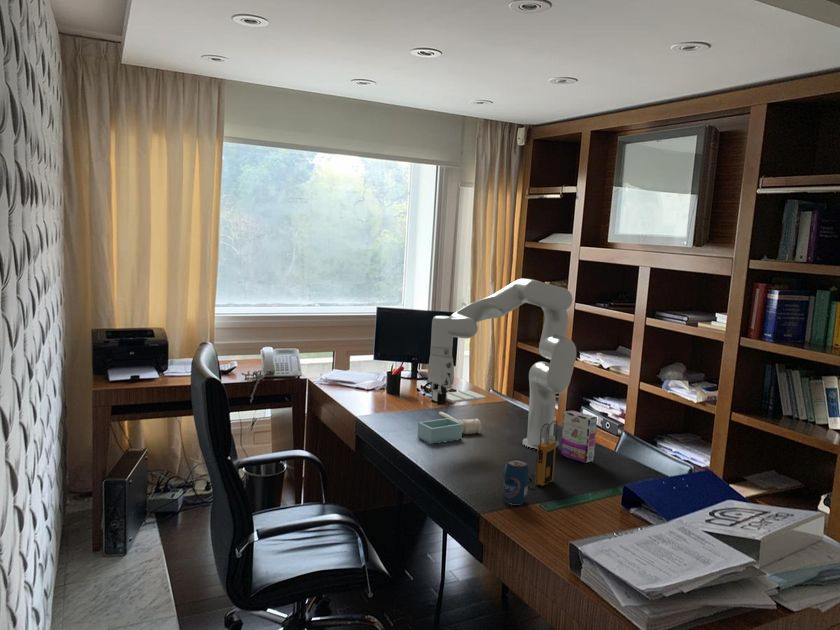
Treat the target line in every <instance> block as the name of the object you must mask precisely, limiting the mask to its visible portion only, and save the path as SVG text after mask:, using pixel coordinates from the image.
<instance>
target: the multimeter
mask: <svg viewBox="0 0 840 630" xmlns="http://www.w3.org/2000/svg"><path fill="white" fill-rule="evenodd" d="M553 422H554V423H556V425H558V422H557V420H554V421H553ZM553 422H552V423H553ZM552 423H551V424H552ZM551 424H550V426H551ZM544 425H547V424H544ZM544 425H543V426H544ZM548 426H549V424H548ZM550 426H549V428H550ZM542 428H543V427H542ZM547 432H548V438H547V435H546V440H545V442H544V443H541V435H540V444H539V445H538V448H537V450H536V463H535V466H536V467H535V474H536V475H535V479H534V480H535V481H534V484H535V483H536V484H535V488H537V486H538V485H537V484H540V485H545V484H546V483H548V482H550V481H552V480H553V481H554V473H555V463H556V449H557V447H556V441H557V440H558V439H557V438H558V430H556V431H555V433H556V434H555V442H553V441H549V429H548V427H547ZM541 433H542V429H541ZM553 481H552V482H553ZM550 483H551V482H550ZM548 484H549V483H548ZM546 485H547V484H546ZM546 485H545V486H546ZM535 488H534V489H535Z"/></svg>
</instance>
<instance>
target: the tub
mask: <svg viewBox="0 0 840 630" xmlns="http://www.w3.org/2000/svg"><path fill="white" fill-rule="evenodd" d="M417 424H418V426H417V438H418V439H419V438H421V439H423V440H424V441H423V440H422V441H423V442H425V441H426V442H425V443H427V442H428V443H430V444H432V445H434V444H433V443H438V444H440V443H439V442H444V441H450V442H452V441H451V440H456V441H458V440H457V439H462V438H463V437H462V435H463V434H462V424H461V423H458V422H456V421H454V420H452V419H450V418H439V419H432V420H426V421H425V420H424V421H418V422H417ZM421 439H420V440H421ZM428 443H427V444H428ZM444 443H445V442H444ZM430 444H429V445H430Z"/></svg>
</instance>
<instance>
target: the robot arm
mask: <svg viewBox="0 0 840 630" xmlns="http://www.w3.org/2000/svg"><path fill="white" fill-rule="evenodd" d="M523 304H530V305H534V306H537V307H540V308H541V310H542V311H543V315H544V322H543V328H542V331H541V332H542V333H541V336H540V341H539V344H538V345H539V346H538V352H539V354H540V356H541V357H543V358H545V359H547V360H550V362H547V361H537V362H535V363H534V364H533V365H532V366H530V369H529V372H528V381H529V402H528V403H529V404H528V405H529V406H528V415H527V416H528V419H527V430H526V431H527V435H526V437H525V438H523V439H522V445H523V446H524V445H525V446H524V447H526V446H527V447H526V448H528V447H530V448H529V449H531V448H535V449H537V448H538V445H539V444H540V435H541V443H544V442H545V440H546V435H547V438H548V432H547V427H548V429H549V441H553V442H555V441H556V448H557V446H559V445H560V442H559V441H558V440H556V435H554V428H555V427H554V425H555V422H553V421H555V413H556V401H557V400H556V399H557V397H556V395H557V394H562V393H564V392H565V391H566V390H567V389H568V388H569V385H570V383H571V379H572V375H573V372H574V367H575V363H576V361H577V360H576V359H577V346H576V345H575V343H574V342H573V340H571V338H568V337H566V336H567V331H568V326H569V315H568V311H567V310H568V309H570V307H571V306H572V304H573V295H572V292H571V291H570V290H569V289H567V288H565V287H561V286H558V285H553V284H550V283H547V282H544V281H543V282H542V281H540V280H536V279H532V278H523V277H522V278H518V279H516V280H515V281H513V282H512V281H511V283H508V285H506V286H504V287H502V288H500V289H499V290H498V291H496V292H494V293H493V294H491V295H489V296H487V297H484V298H482V299H479V300H477V301H474V302H472V303H469V304H467V305H465V306H464V307H462V308H460V309H458V310H457V311H455V312H453V313H452V314H451V315H449V316H448V315H435V316H433V318H432V320H431V337H430V340H431V341H430V353H429V354H430V355H429V360H428V366H427V367H428V368H427V381H428V383H429V385H430V391H431V394H432V393H433V390H435V389H439V394H438V399H437V401H434V400H432V396H431V398H430V399H431V400H430V402H431V403H436V404H437V405H438V406H442V405H446V403H447V400H446V393H447V392H449V390H452V388H453V387H452V385H454V383H455V382H454V381H455V367H454V357H453V344H454V343H453V342H454V338H460V339H471V338H473V337H474V336H475V335H476V334H477V332H478V328H479V327H478V324H477V323H479V322H483V321H484V320H485V321H486V320H490V319H492V320H493V319H497V318H503V317H504V316H505V315H507V314H510V312H512V311H513V310H516V309H517V308H518V307H520V306H522V305H523ZM552 422H553V423H552ZM551 423H552V424H551ZM544 424H547V425H544ZM548 424H549V426H550V424H551V426H550V428H549V426H548ZM543 425H544V426H543ZM542 427H543V428H542ZM541 429H542V433H541ZM535 449H534V450H535Z"/></svg>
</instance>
